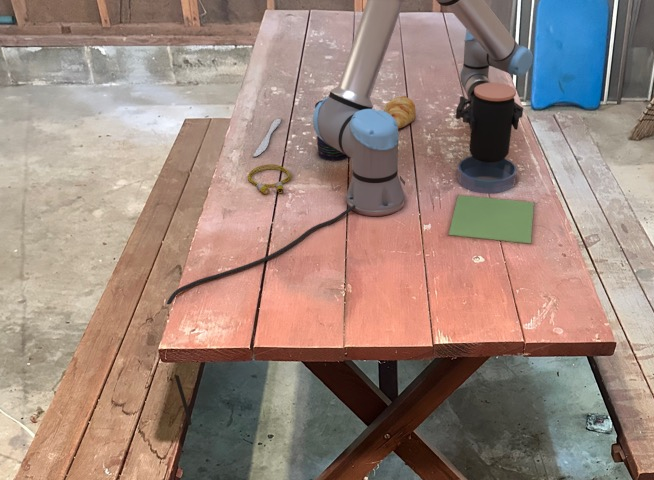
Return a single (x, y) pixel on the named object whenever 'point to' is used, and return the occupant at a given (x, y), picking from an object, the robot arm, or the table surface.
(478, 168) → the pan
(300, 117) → the table surface
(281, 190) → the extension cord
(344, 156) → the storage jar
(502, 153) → the coffee jar
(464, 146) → the table surface
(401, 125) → the croissant
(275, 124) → the butter knife
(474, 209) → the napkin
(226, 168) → the table surface
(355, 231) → the table surface
